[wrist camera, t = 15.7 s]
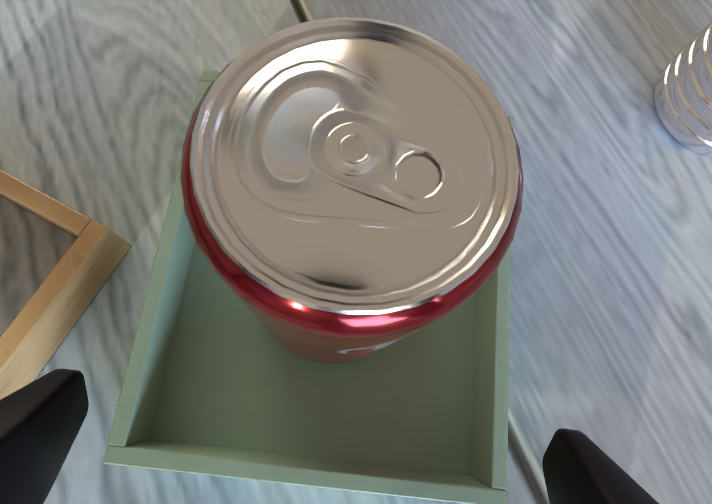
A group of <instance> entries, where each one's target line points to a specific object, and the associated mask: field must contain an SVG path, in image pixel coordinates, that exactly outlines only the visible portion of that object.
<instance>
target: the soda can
mask: <svg viewBox="0 0 712 504" xmlns="http://www.w3.org/2000/svg"><path fill="white" fill-rule="evenodd" d="M180 182H181V189H182V196H183V204H184V211H185V213H186V216H187V219H188V221H189V224H190V227H191V229H192V232H193V235H194V237H195V240H196V242H197V244H198V246H199V247H200V249H201V250H202V252H203V253H204V255H205V256H206V258H207V259H208V261H209V262H210V264H211V266H212V267H213V269H214V270H215V272H216V273H217V274H218V275H219V276H220V277H221V278H222V280H223V281H224V282H225V283H226V284H227V285H228V286H229V287H230V289H231V290H232V291H233V292H234V293H235V294H236V295H237V297H238V298H239V299H240V300H241V301H242V302H243V303H244V304H245V306H246V307H247V308H248V309H249V310H250V311H251V312H252V314H253V315H254V316H255V317H256V318H257V319H258V320H259V321H260V323H261V324H262V325H263V326H264V327H265V328H266V329H267V331H268V332H269V333H270V334H271V335H272V336H273V337H274V338H275V339H276V340H277V341H278V342H279V343H280V344H281V345H283V346H284V347H286V348H287V349H289V350H290V351H292V352H293V353H295V354H297V355H299V356H302V357H304V358H307V359H309V360H312V361H318V362H324V363H348V362H352V361H356V360H361V359H364V358H366V357H368V356H370V355H372V354H375V353H377V352H379V351H381V350H383V349H384V348H386V347H388V346H390V345H392V344H394V343H395V342H397V341H399V340H401V339H403V338H405V337H407V336H408V335H410V334H412V333H414V332H416V331H418V330H420V329H421V328H423V327H425V326H427V325H429V324H431V323H433V322H434V321H436V320H438V319H440V318H442V317H444V316H446V315H447V314H449V313H450V312H452V311H453V310H454V309H456V308H457V307H458V306H460V305H461V304H463V303H464V302H465V301H467V300H468V299H469V298H471V297H472V296H473V295H475V294H476V293H477V292H478V291H479V289H480V288H481V287H482V286H483V285H484V284H485V283H486V281H487V280H488V279H489V278H490V277H491V276H492V274H493V273H494V272H495V271H496V270H497V269H498V267H499V265H500V263H501V261H502V259H503V258H504V256H505V254H506V252H507V250H508V248H509V246H510V245H511V243H512V241H513V237H514V234H515V230H516V227H517V223H518V220H519V216H520V213H521V207H522V191H523V171H522V164H521V157H520V150H519V146H518V143H517V141H516V138H515V135H514V132H513V129H512V127H511V124H510V121H509V119H508V117H507V116H506V113H505V111H504V110H503V108H502V106H501V105H500V103H499V101H498V100H497V98H496V96H495V95H494V93H493V91H492V89H491V88H490V87H489V86H488V84H487V83H486V82H485V81H484V80H483V79H482V78H481V76H480V75H479V74H478V73H477V72H476V71H475V69H474V68H473V67H472V66H471V65H470V64H468V63H467V62H466V61H465V60H464V59H462V58H461V57H460V56H459V55H457V54H456V53H455V52H454V51H452V50H451V49H450V48H449V47H447V46H445V45H443V44H442V43H440V42H438V41H436V40H435V39H433V38H431V37H429V36H428V35H426V34H424V33H421V32H418V31H416V30H413V29H410V28H408V27H405V26H402V25H400V24H397V23H392V22H387V21H382V20H377V19H372V18H359V17H334V18H326V19H317V20H311V21H307V22H304V23H300V24H297V25H294V26H290V27H287V28H284V29H282V30H280V31H278V32H276V33H274V34H272V35H270V36H268V37H266V38H264V39H262V40H260V41H258V42H256V43H255V44H254V45H252V46H251V47H250V48H249V49H247V50H246V51H245V52H243V53H242V54H241V55H239V56H238V57H237V58H235V59H234V60H233V61H232V62H231V63H229V64H228V65H227V66H226V67H225V69H224V70H223V71H222V72H221V73H220V74H219V75H218V76H217V78H216V79H215V80H214V81H213V82H212V83H211V84H210V85H209V87H208V88H207V90H206V92H205V93H204V95H203V97H202V98H201V100H200V102H199V104H198V105H197V107H196V109H195V111H194V112H193V115H192V118H191V121H190V124H189V128H188V131H187V134H186V137H185V140H184V144H183V150H182V161H181V173H180Z"/></svg>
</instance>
